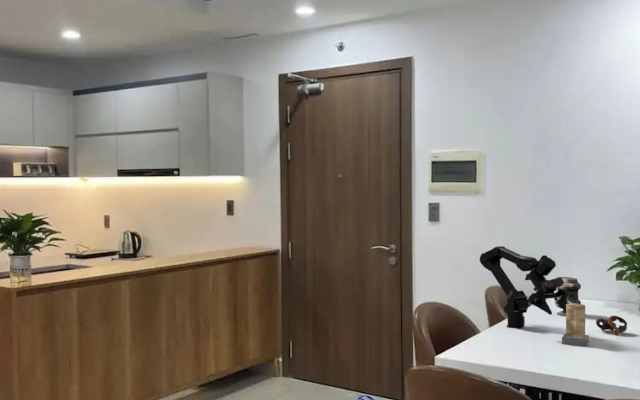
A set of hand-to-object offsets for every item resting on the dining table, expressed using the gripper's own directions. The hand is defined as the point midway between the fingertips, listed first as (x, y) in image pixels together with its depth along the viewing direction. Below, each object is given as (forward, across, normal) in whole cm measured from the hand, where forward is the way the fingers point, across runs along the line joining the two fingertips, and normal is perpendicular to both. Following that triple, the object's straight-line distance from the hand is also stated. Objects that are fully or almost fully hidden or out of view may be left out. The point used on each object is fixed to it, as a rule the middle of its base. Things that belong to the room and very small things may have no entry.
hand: (559, 313), depth 266 cm
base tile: (+13, 0, +1) cm, 13 cm away
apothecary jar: (-17, +42, +33) cm, 56 cm away
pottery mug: (+9, +28, +6) cm, 30 cm away
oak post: (+11, 0, -1) cm, 11 cm away
